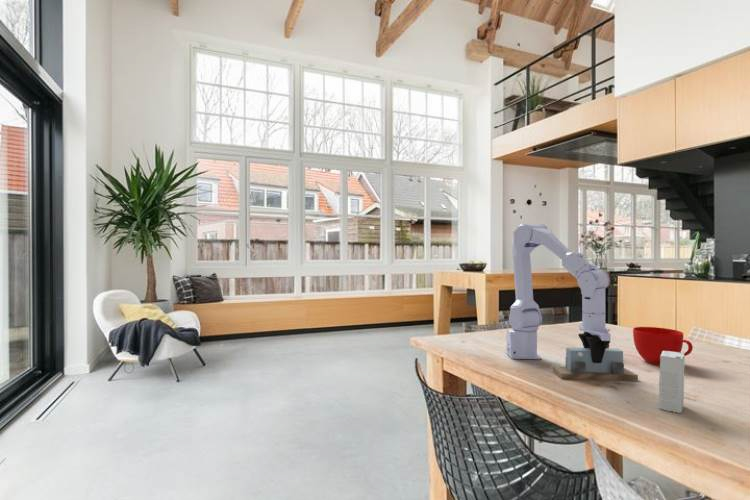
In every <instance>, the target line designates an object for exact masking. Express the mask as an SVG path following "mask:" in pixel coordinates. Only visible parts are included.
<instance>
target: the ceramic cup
mask: <svg viewBox="0 0 750 500" xmlns="http://www.w3.org/2000/svg"><path fill="white" fill-rule="evenodd" d="M632 334H633V335H632V336H633V338H632V339H633V343H634V346H635V349H636V351H637V353H638V354H639V356H640V357H641V358H642V359H643V360H644V362H646V363H648V364H653V365H656V366H657V365H658V366H660V356H661V353H662V351H671V352H679V353H682V349H683V345H684V344H683V343H685V344H686V345H687V348H688V349H687V351H685V352H683V353H684V354H685V357H686V356H689V355H690V354H691V353H692V352H693V349H694V347H693V344H692V342H691V341H690V340H688V339H684V332H682V331H679V330H677V329H670V328H664V327H657V326H656V327H655V326H635V327H633V329H632Z"/></svg>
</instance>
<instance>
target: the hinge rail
mask: <svg viewBox="0 0 750 500" xmlns="http://www.w3.org/2000/svg"><path fill="white" fill-rule="evenodd" d="M552 372H553V374H555V375H556V376H557V377H558V378H560V379H562V380H587V381H588V380H589V381H590V380H592V381H595V380H596V381H628V382H629V381H631V382H633V381H636V382H637V381H638V382H639V375H638V374H637V373H635V372H633V371H631V370H629V369H627V368H626V367H625V363H624V362H623V363H611V373H600V372H586V363H585V362H573V372H570V371H569V370H567V369H566V366H552Z"/></svg>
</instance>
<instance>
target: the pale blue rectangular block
mask: <svg viewBox="0 0 750 500" xmlns="http://www.w3.org/2000/svg"><path fill="white" fill-rule="evenodd" d="M573 362H585V363H586V372H600V373H611V363H624V351H623V350H621V349H619V348H613V347H612V348H610V347H609V348H606V350H605V352H604V355H603V359H602V362H601V363H593V362H592V358H591V350H590V348H584V347H566V348H565V367H566V369H567V370H569V371H570V372H573Z"/></svg>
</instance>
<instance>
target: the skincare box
mask: <svg viewBox="0 0 750 500" xmlns="http://www.w3.org/2000/svg"><path fill="white" fill-rule="evenodd" d="M684 353H685V352H681V353H679V352H671V351H662V353H661V356H660V365H659V382H658V385H659V387H658V409H659V410H664V411H668V412H671V411H673V412H672V413H676V412H677V413H678V414H682V413H683V409H684V403H685V402H684V400H685V362H686V361H685V357H686V356H685V354H684Z"/></svg>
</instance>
